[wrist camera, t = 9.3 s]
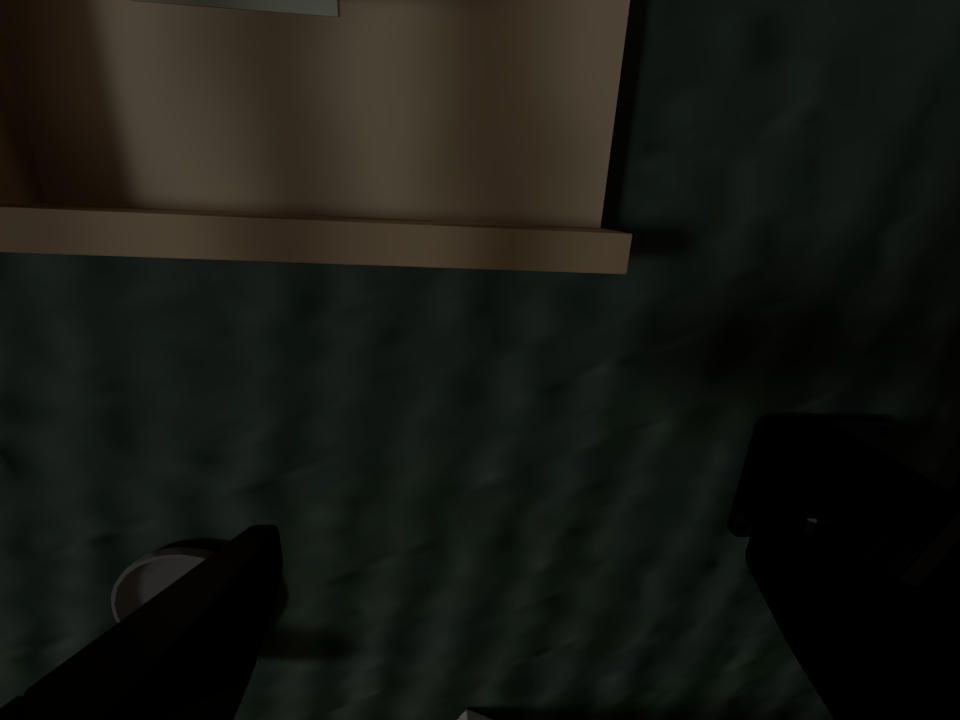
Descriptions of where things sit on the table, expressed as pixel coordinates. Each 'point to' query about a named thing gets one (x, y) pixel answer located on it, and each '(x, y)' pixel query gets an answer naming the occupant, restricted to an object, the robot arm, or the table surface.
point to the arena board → (313, 131)
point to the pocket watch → (152, 577)
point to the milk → (472, 716)
